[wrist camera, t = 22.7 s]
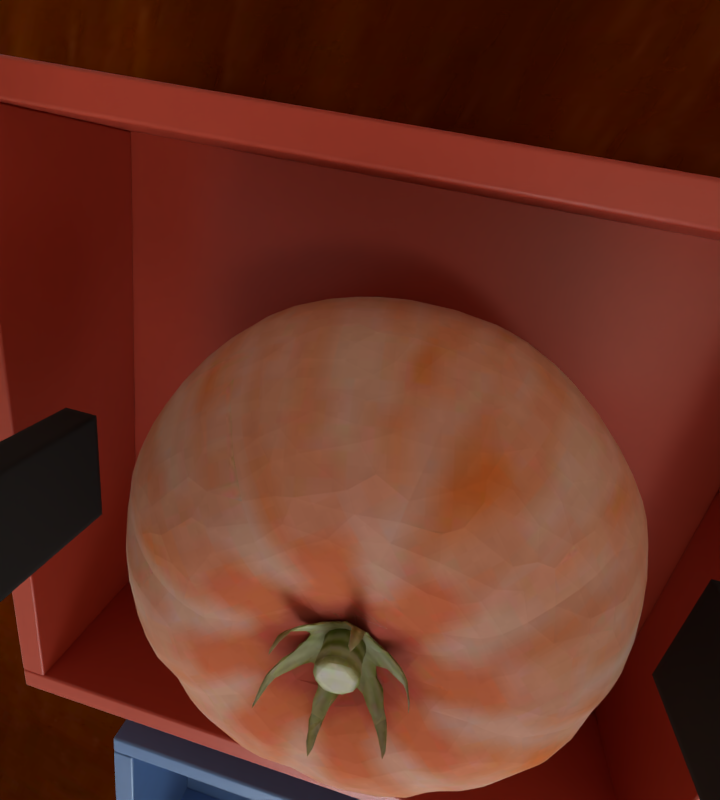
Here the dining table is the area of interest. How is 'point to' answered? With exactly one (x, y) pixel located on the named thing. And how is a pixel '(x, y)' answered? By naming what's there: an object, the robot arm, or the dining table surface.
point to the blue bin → (197, 772)
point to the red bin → (340, 278)
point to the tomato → (387, 546)
